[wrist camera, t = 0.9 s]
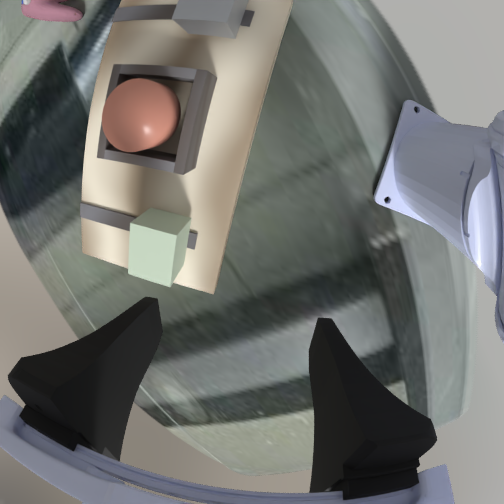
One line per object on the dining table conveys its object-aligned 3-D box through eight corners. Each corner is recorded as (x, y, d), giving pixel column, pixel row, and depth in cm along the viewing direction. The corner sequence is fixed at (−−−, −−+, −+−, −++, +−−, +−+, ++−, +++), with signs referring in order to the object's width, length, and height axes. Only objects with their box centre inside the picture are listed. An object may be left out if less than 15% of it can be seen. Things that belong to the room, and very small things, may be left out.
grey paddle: (251, -6, 11) (245, -28, 8) (235, 38, 13) (226, 22, 10) (204, -11, 11) (191, -31, 8) (188, 33, 12) (171, 18, 10)
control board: (292, 5, 13) (295, -20, 9) (217, 283, 22) (206, 314, 19) (135, -5, 12) (109, -23, 9) (91, 245, 22) (66, 266, 18)
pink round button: (190, 87, 13) (175, 81, 11) (176, 152, 15) (159, 157, 13) (131, 81, 13) (109, 77, 11) (119, 142, 15) (97, 147, 13)
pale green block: (191, 217, 18) (176, 235, 15) (184, 264, 19) (170, 287, 17) (150, 207, 18) (130, 222, 15) (146, 253, 19) (128, 273, 17)
